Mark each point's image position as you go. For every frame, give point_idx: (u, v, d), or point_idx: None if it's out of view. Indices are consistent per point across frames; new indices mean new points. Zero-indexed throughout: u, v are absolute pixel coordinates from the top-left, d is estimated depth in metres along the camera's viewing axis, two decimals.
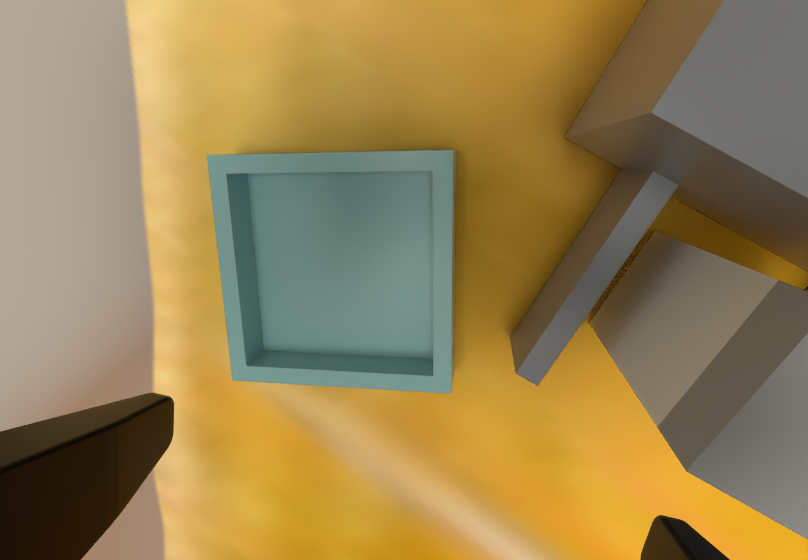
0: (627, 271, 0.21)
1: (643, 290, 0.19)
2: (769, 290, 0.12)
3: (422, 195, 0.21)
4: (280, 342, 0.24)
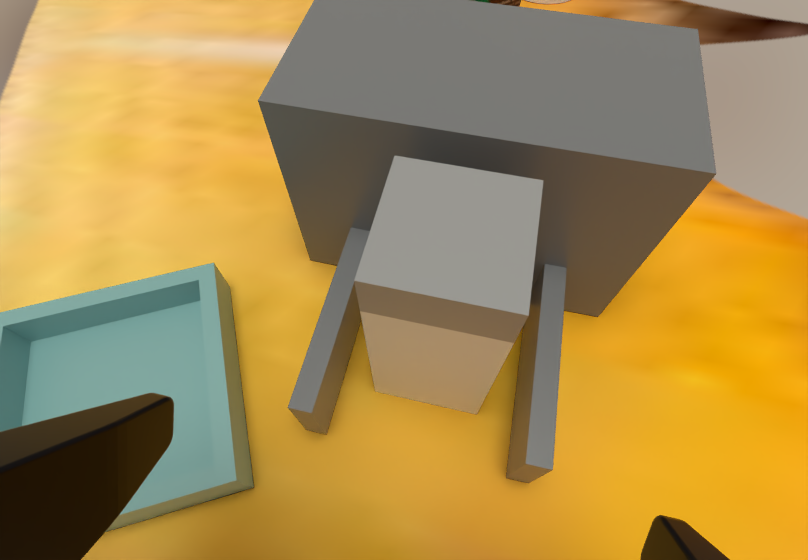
0: None
1: None
2: None
3: (201, 319, 0.24)
4: None
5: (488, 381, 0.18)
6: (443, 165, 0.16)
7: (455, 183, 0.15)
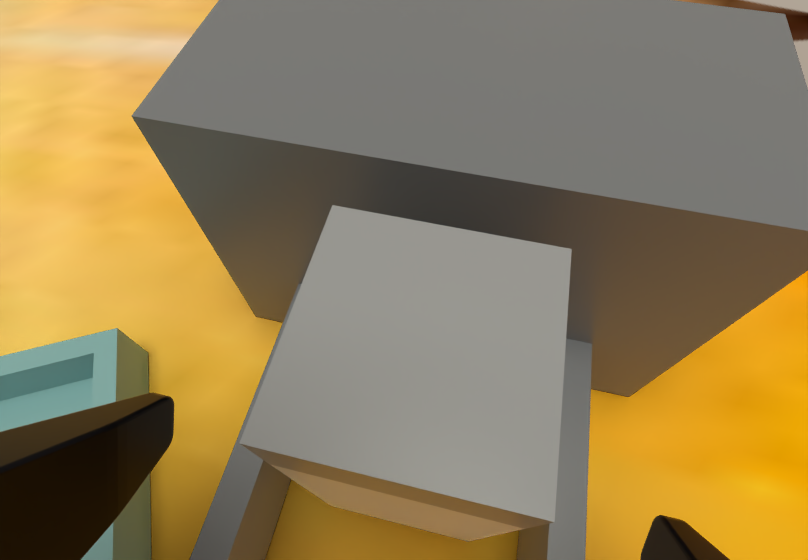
0: None
1: None
2: None
3: None
4: None
5: (483, 534, 0.12)
6: (410, 221, 0.10)
7: (427, 253, 0.09)
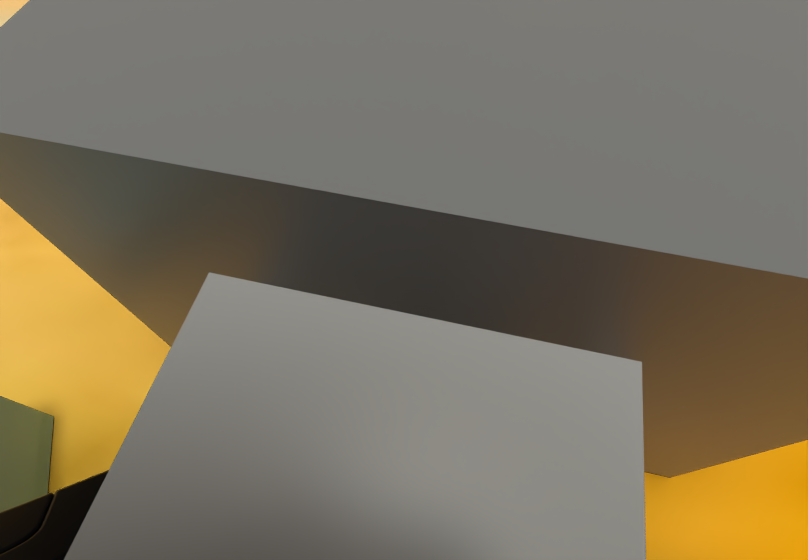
0: None
1: None
2: None
3: None
4: None
5: None
6: (345, 303, 0.06)
7: (372, 372, 0.05)
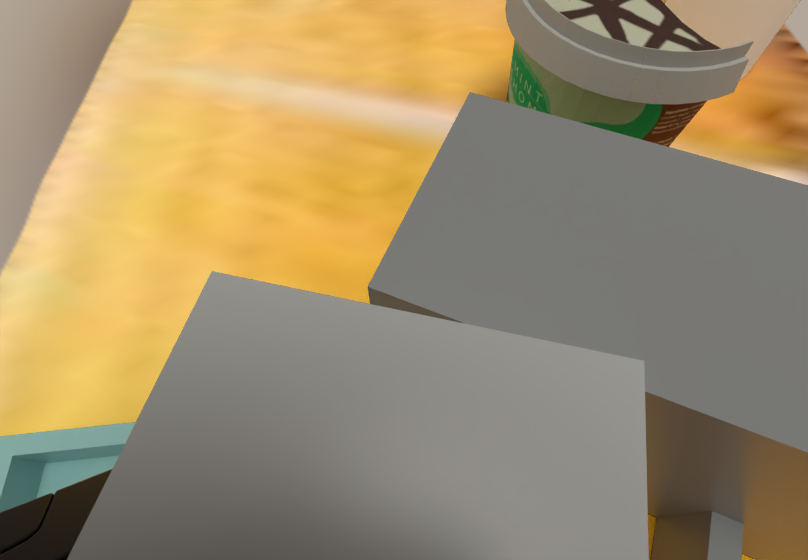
0: None
1: None
2: None
3: None
4: None
5: None
6: (348, 302, 0.06)
7: (375, 371, 0.05)
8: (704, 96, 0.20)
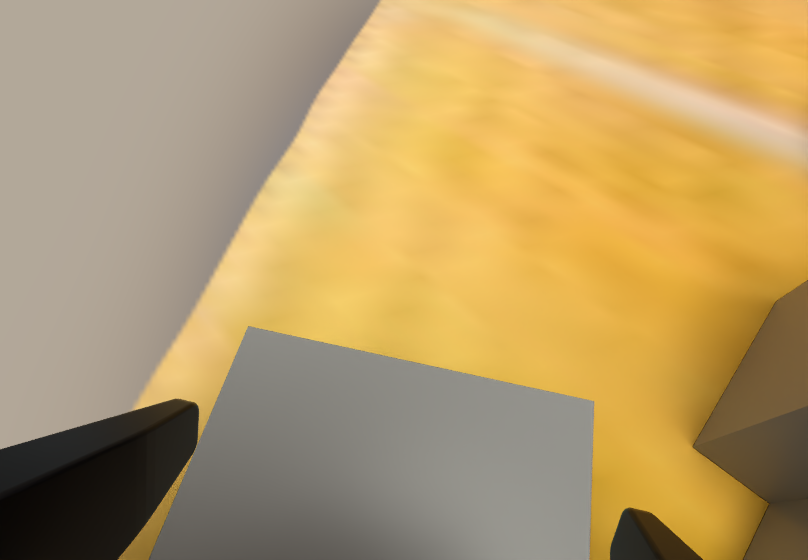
0: None
1: None
2: None
3: None
4: None
5: None
6: (359, 352, 0.07)
7: (381, 410, 0.06)
8: None
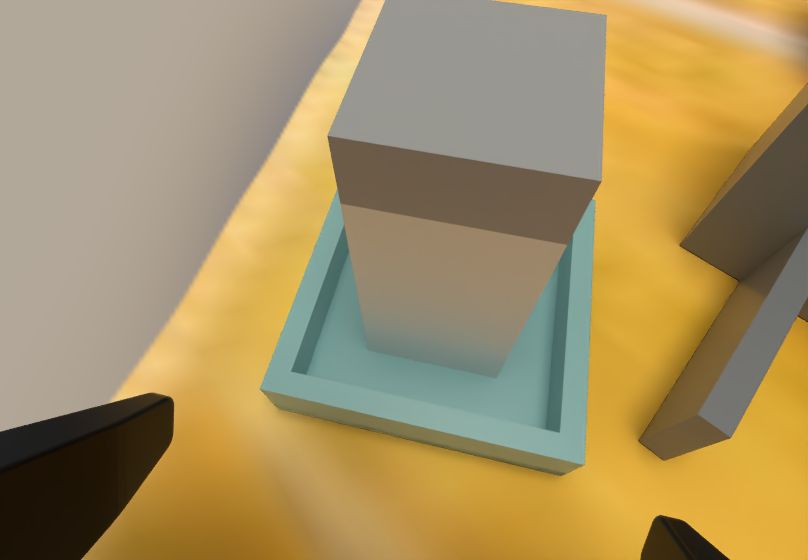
0: None
1: None
2: None
3: None
4: (329, 380, 0.18)
5: (518, 322, 0.14)
6: (460, 0, 0.11)
7: (478, 18, 0.11)
8: None
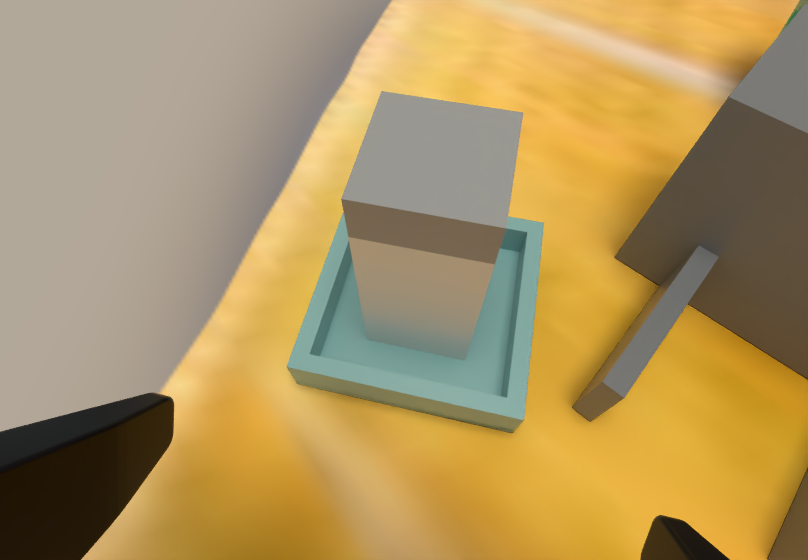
0: None
1: None
2: None
3: (505, 266, 0.26)
4: None
5: (473, 316, 0.19)
6: (428, 100, 0.17)
7: (439, 115, 0.16)
8: None
